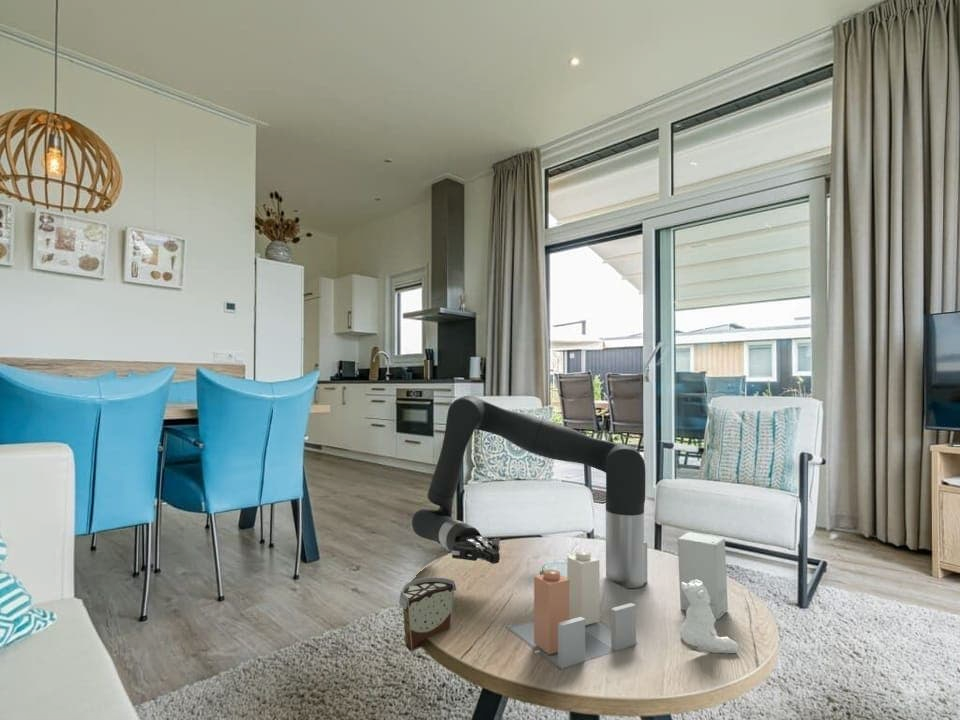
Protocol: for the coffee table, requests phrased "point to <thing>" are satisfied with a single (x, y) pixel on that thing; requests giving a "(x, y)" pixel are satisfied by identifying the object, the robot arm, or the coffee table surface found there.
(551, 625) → the terracotta plug
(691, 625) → the sitting furry creature
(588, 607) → the cream plug
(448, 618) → the food container
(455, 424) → the robot arm
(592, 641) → the grey holder stand
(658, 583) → the coffee table surface
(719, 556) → the skincare box
